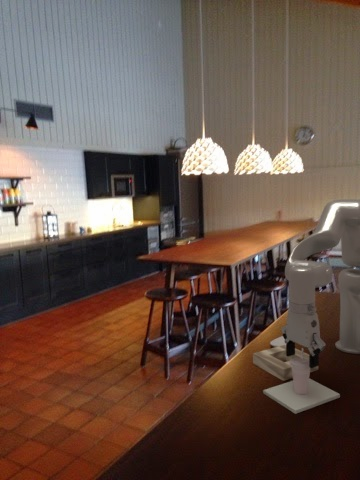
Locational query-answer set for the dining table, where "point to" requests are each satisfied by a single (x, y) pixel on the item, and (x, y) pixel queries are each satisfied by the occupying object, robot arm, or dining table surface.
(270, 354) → the wooden square frame
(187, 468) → the dining table surface
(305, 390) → the smoothie
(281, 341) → the white long flared piece
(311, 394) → the serving board
